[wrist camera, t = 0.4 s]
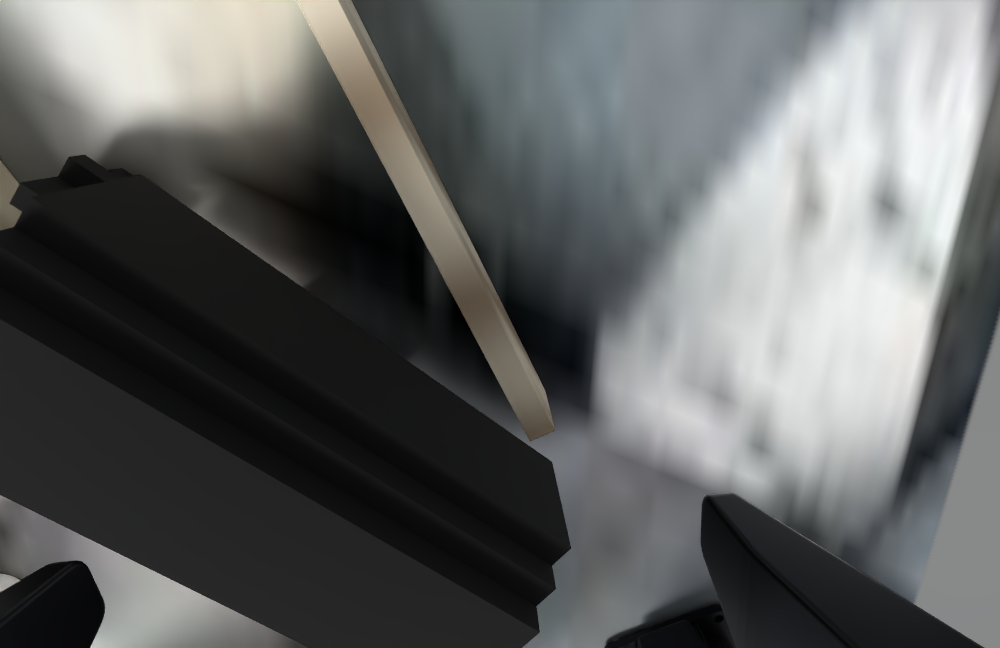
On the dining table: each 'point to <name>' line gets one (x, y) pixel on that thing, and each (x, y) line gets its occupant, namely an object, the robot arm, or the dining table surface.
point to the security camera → (254, 433)
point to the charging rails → (409, 203)
